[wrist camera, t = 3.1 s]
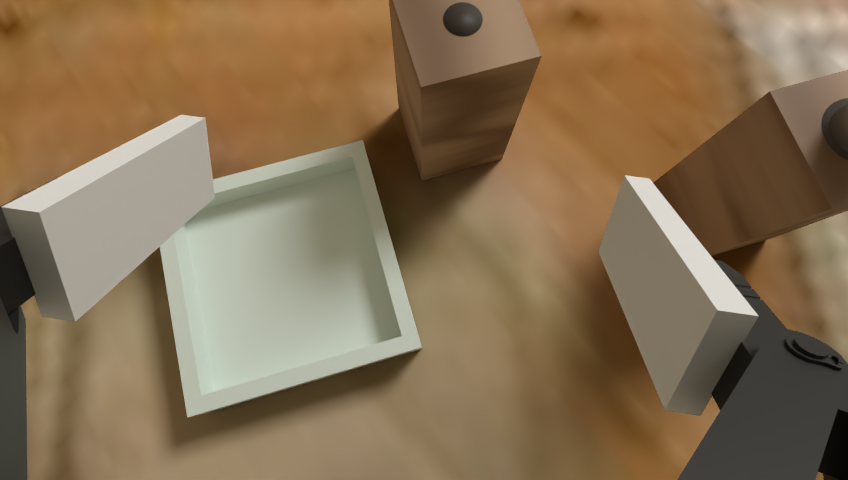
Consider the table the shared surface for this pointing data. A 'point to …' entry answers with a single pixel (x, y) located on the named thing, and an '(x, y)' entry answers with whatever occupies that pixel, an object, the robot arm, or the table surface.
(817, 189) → the block
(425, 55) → the block
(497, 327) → the table surface
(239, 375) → the tray
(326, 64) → the table surface
